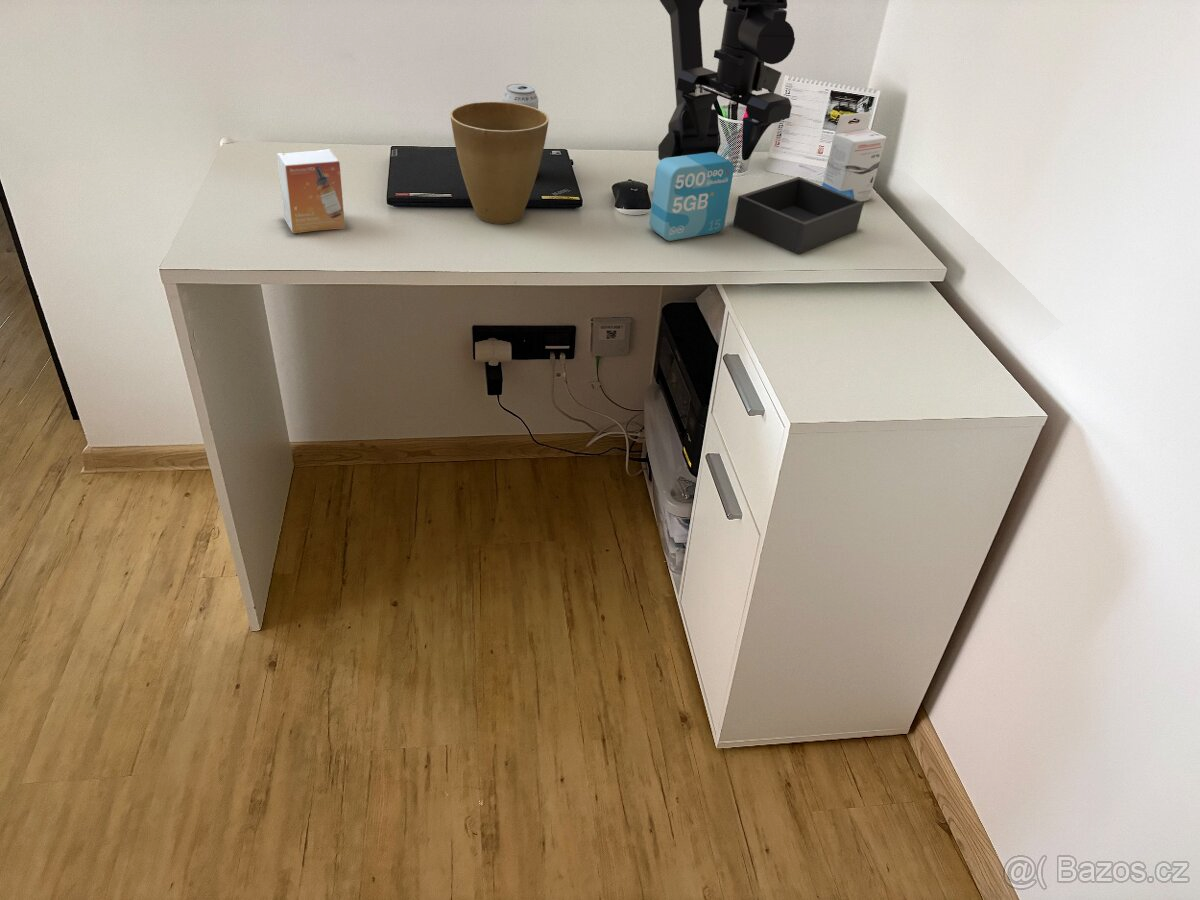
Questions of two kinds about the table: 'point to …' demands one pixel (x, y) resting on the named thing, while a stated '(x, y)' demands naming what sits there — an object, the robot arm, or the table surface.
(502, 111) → the plant pot
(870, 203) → the table surface
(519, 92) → the energy drink can
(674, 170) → the data package
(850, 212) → the black box
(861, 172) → the ink box
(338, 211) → the small box
